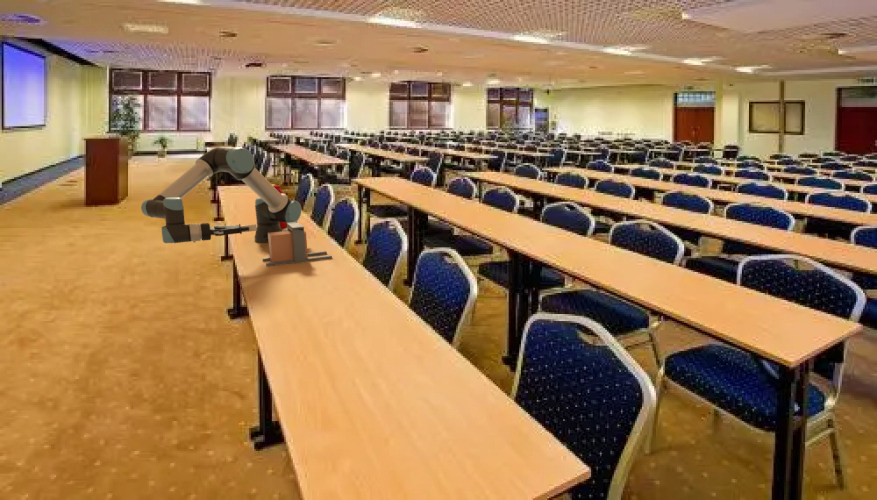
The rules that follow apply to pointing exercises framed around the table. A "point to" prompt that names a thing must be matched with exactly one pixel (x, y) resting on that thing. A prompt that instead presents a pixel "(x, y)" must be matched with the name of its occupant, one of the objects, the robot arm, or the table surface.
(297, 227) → the grey stand
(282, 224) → the water bottle
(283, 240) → the brick
